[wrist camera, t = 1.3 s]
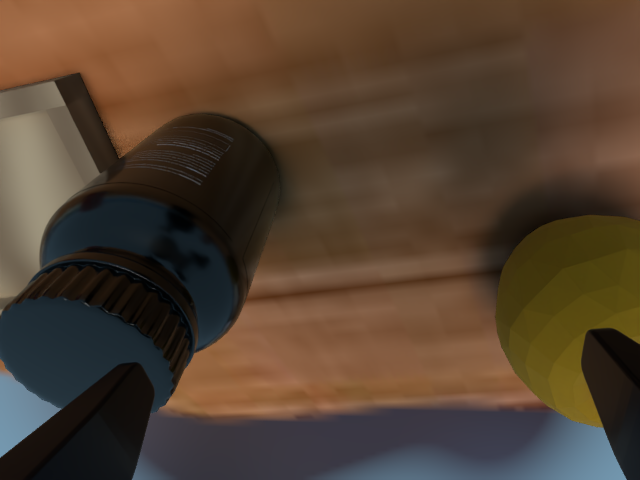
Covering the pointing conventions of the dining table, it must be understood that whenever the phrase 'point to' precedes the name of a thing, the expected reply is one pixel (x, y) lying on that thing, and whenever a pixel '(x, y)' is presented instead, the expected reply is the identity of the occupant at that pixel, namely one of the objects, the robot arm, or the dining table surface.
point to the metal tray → (43, 167)
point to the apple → (568, 304)
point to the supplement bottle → (145, 262)
